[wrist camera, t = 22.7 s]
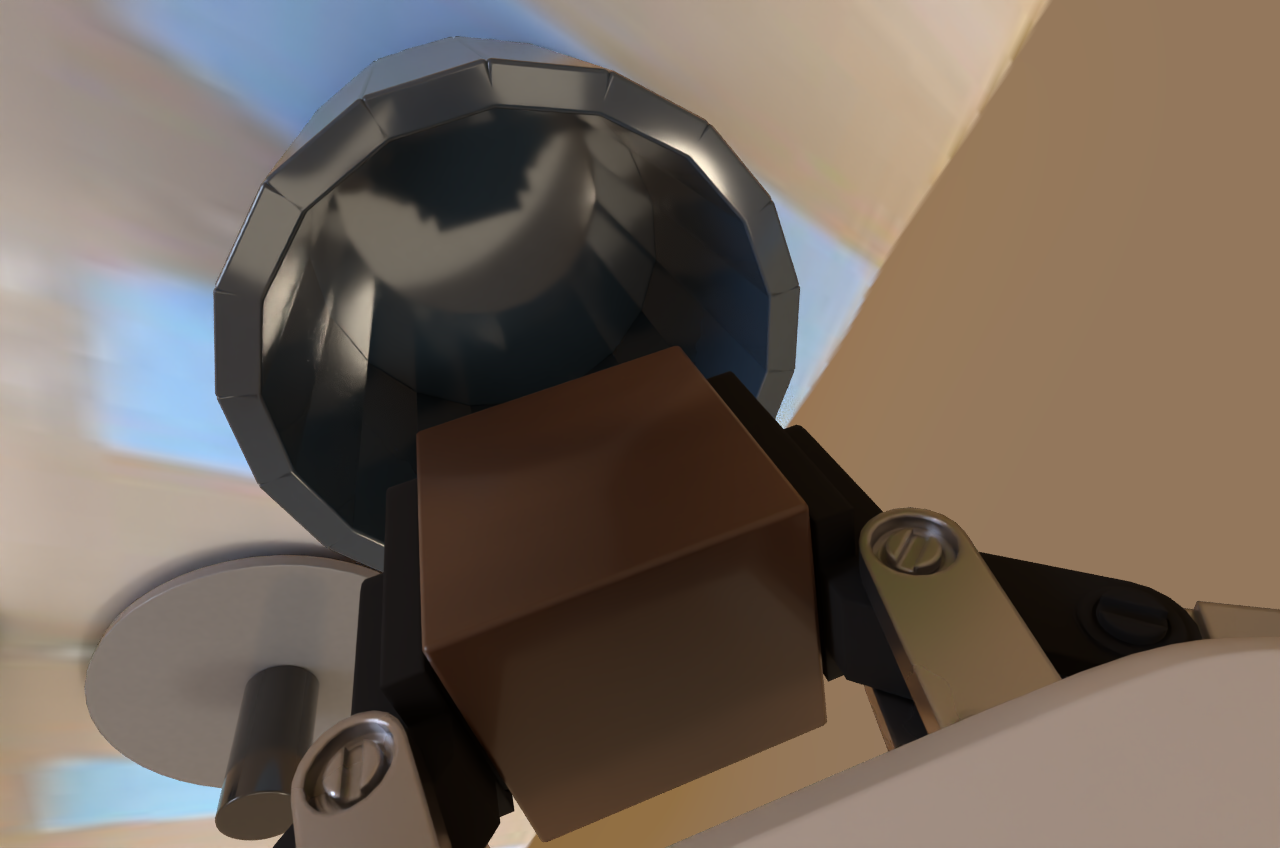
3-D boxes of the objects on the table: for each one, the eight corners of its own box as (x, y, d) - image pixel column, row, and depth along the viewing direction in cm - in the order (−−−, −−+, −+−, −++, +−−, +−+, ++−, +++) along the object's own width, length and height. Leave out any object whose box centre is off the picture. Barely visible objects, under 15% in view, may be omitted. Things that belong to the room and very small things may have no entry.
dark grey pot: (243, 13, 18) (123, 24, 10) (696, 59, 22) (860, 93, 14) (312, 426, 24) (271, 626, 16) (653, 405, 28) (750, 561, 20)
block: (503, 614, 13) (542, 847, 9) (413, 430, 10) (418, 652, 7) (716, 534, 14) (830, 725, 10) (678, 342, 11) (811, 505, 7)
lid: (45, 567, 24) (-60, 734, 19) (440, 526, 28) (450, 654, 22) (146, 791, 31) (91, 962, 25) (453, 732, 35) (463, 869, 29)
